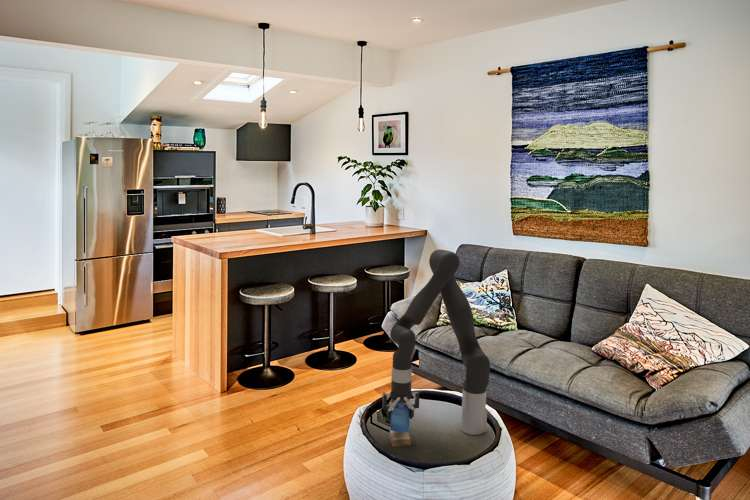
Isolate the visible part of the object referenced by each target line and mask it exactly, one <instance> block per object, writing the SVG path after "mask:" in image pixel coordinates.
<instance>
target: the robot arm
mask: <svg viewBox="0 0 750 500" xmlns="http://www.w3.org/2000/svg"><path fill="white" fill-rule="evenodd" d="M428 260H429V262H428V263H429V267H430V269H431V272H432V276H431V278H430V279H429V280H428V282H427V283H426V285H424V287H422V288H421V289H420V290H419V291H418V293H416V295H415V296H414V297H413V298H412V301H411V302H410V303H409V306H408V307H407V309H406V311H405V313H403V315H401V316H400V317H399V318H398V320H397V321H396V322H395V323H394V324H393V326H392V327H391V330H390V333H389V336H390V340H391V341H392V342H393V343H395V344H397V345H398V349H397V350H395V351H394V352H393V354H392V367H391V368H392V369H391V380H390V381H391V383H390V384H391V385H390V386H391V387H390V389H391V390H390V392H389V393H386V392H382V399H381V400H382V403H381V404H382V409H383V411H386V416H387V420H389V421H391V414H392V411H393V409H394V406H395V405H396V404H397V402H399V400H400V399H404V402H405V404H407V406H408V407H409V417H410V420H413V418H414V416H415V410H416V409H419V408H420V393H419V391H418V390H416V391H414V392H412V380H413V379H412V378H413V375H412V356H413V354H414V350H415V348H416V347H415V346H416V343H417V341H416V340H417V337H416V334H415V332H414V331H413V330H411V329H412V328H413V327H414V326H419V325H421V324H422V322H423V321H424V319H425V317H426V316H427V313H428V312H429V310H430V308H431V307H432V305H433V304H434V302H435V300H436V299H437V298H438V296H439V295H441V297H442V301H443V304H444V307H445V310H446V311H445V312H446V315H447V317H448V320H449V322H450V325H451V328H452V330H453V332H454V335H455V337H456V340H457V342H458V346H459V351H460V352H459V353H460V356H461V360H462V363H463V366H464V367H465V369H466V372H465V373H466V375H465V379H464V381H463V382H462V395H461V397H462V399H461V422H460V430H461V431H462V432H463V433H465V434H466V435H471V436H479V435H482V434H484V433H487V424H488V423H487V422H488V421H487V419H488V409H487V408H486V404H487V390H488V389H487V388H488V386H489V382H490V371H491V363H490V359H489V357H488V355H487V354H486V353H485V352H484V351H483V350H482V348H481V346H480V343H479V341H478V339H477V335H476V331H475V330H476V329H475V318H474V315H473V310H472V308H471V304H470V302H469V300H468V298H467V296H466V294H465V293H464V291H463V290H462V288H461V287H460V285H459V283H458V282H457V280H456V277H455V274H456V273H457V271H458V270H459V267H460V263H461V262H460V258H459V256H458V255H457V253H455V252H454V251H450V250H445V249H436V250H434V251H432V253H431V254H430V256H429V259H428ZM412 397H413V398H414V403H412V402H411V400H410V399H411V398H412ZM389 398H390V399H391V400H390V401H389V402H387V400H389Z"/></svg>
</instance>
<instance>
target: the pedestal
mask: <svg viewBox="0 0 750 500" xmlns="http://www.w3.org/2000/svg"><path fill="white" fill-rule="evenodd" d="M388 436H389V440H390V443H391V445H392V447H402V446H403V447H405V446H411V445H412V439H411V436H410V434H409V432H408V431H407V432H399V431H391V429H390V430H389V434H388Z"/></svg>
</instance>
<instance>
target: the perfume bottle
mask: <svg viewBox="0 0 750 500" xmlns="http://www.w3.org/2000/svg"><path fill="white" fill-rule="evenodd" d="M409 409H410V407H409V406H408V404H407V403H406V404H405V402H404V399H400V400H399V402H397V404H396V405H395V406H394V407H393V408H392V410H391V411H392V414H391V420H390V430H391V431H399V432H407V431H408V430H409V428H410V427H409V426H410V420H411V419H410V417H409Z"/></svg>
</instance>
